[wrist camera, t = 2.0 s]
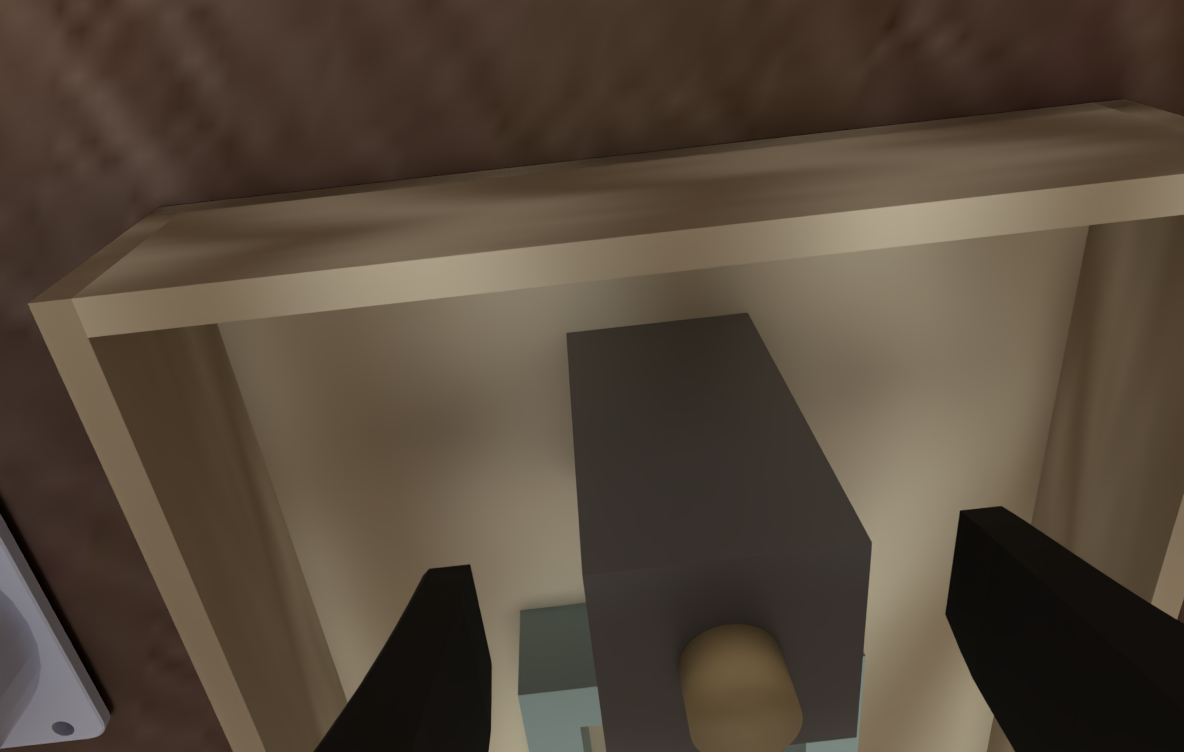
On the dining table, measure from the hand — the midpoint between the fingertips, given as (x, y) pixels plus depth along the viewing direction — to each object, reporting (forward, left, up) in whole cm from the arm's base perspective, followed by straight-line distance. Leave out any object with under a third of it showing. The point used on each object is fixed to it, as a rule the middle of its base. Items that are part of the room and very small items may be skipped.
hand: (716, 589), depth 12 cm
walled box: (0, -5, -6) cm, 8 cm away
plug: (0, 0, -6) cm, 6 cm away
